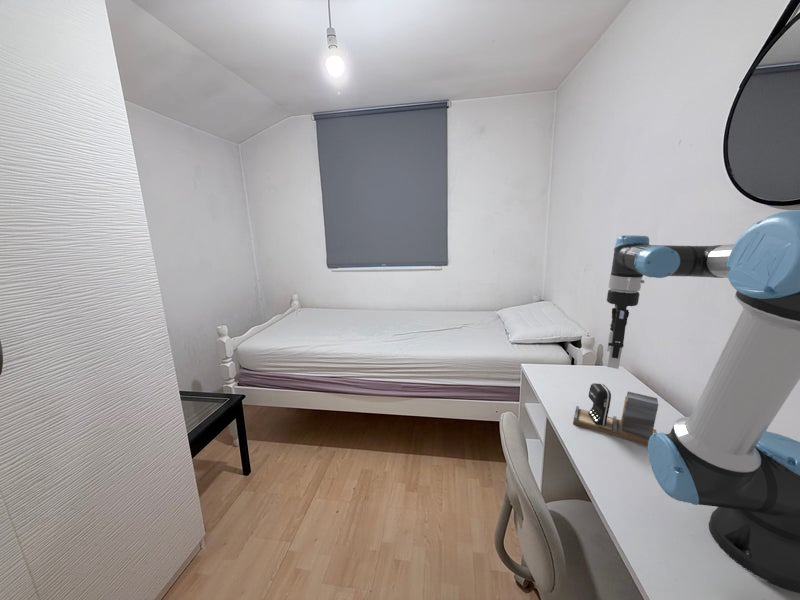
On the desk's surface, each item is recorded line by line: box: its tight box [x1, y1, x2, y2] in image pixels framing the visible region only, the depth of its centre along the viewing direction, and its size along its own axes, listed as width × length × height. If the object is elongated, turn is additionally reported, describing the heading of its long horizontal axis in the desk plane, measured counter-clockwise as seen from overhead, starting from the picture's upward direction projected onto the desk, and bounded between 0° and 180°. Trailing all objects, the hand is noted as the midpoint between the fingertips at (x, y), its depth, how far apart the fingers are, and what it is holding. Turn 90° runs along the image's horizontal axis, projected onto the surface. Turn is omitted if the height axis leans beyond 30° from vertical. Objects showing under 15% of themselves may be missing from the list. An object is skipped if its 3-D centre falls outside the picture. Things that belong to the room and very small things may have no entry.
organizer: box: [572, 391, 659, 447], centre depth 98 cm, size 8×21×12 cm, turn 57°
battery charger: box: [588, 382, 612, 426], centre depth 100 cm, size 7×4×11 cm, turn 170°
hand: (612, 359), depth 97 cm, fingers open, 13 cm apart
